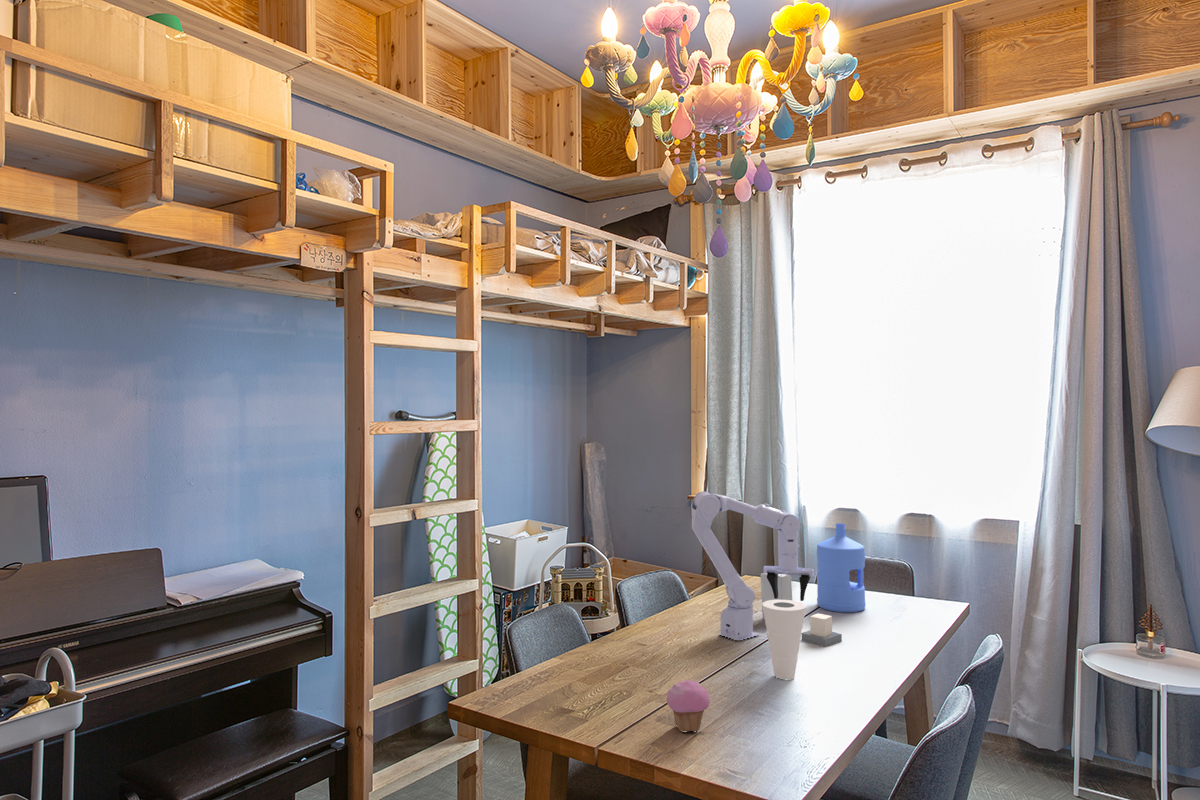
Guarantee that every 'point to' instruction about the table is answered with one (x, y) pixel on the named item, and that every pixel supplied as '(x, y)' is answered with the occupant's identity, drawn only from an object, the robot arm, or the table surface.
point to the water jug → (840, 573)
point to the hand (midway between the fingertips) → (789, 599)
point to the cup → (784, 634)
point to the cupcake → (688, 704)
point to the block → (821, 625)
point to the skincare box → (783, 588)
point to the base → (822, 638)
